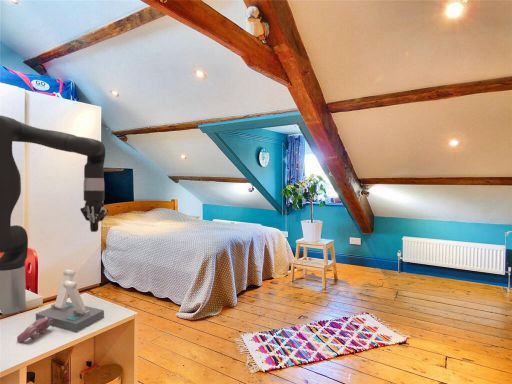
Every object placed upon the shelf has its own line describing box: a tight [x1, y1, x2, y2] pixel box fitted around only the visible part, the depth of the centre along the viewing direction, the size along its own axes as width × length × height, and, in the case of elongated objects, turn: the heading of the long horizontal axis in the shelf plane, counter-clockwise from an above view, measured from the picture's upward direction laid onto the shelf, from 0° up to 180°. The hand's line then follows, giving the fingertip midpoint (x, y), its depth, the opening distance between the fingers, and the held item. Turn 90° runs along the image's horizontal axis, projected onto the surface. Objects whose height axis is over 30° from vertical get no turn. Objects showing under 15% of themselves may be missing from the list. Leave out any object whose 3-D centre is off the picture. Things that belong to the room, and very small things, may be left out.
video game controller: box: [16, 317, 53, 343], centre depth 107 cm, size 10×5×7 cm, turn 170°
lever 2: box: [63, 280, 87, 314], centre depth 114 cm, size 4×2×14 cm, turn 70°
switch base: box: [35, 301, 105, 333], centre depth 119 cm, size 20×12×5 cm, turn 70°
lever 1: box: [54, 268, 76, 309], centre depth 123 cm, size 4×2×14 cm, turn 70°
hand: (94, 231), depth 130 cm, fingers closed
